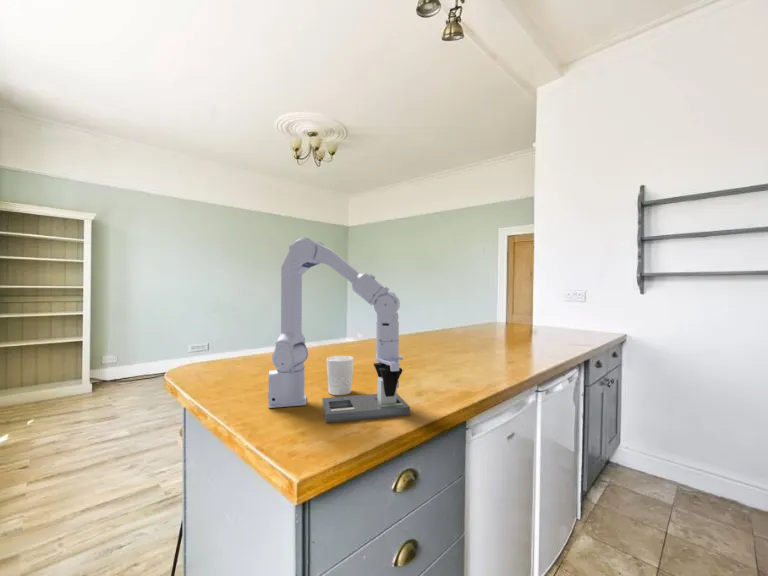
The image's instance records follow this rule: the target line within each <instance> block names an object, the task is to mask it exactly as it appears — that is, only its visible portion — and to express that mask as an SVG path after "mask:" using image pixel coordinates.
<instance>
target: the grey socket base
mask: <svg viewBox="0 0 768 576" xmlns="http://www.w3.org/2000/svg"><path fill="white" fill-rule="evenodd" d="M321 406H322V410H323V414H324V419H325V423H326V424H328V423H329V424H330V423H339V422H340V423H342V422H350V421H363V420H372V419H381V418H382V419H384V418H394V417H404V416H411V407H410V405H409V404H408V403H407V402H406V401H405V400H404V399H403V398H402V397H401V396H400V395H399V394H398V393H396V403H395V404H383V405H379V403H378V402H377V393H370V394H360V395H359V394H357V395H346V396H345V395H342V396H335V397H333V396H331V397H322V404H321Z"/></svg>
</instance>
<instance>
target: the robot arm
mask: <svg viewBox="0 0 768 576" xmlns="http://www.w3.org/2000/svg"><path fill="white" fill-rule="evenodd" d="M288 250H289V251H288V252H287V255H286V256H285V258H284V261H283V263H282V265H281V268H280V270H281V271H280V272H281V273H280V275H281V276H280V277H281V280H280V282H281V283H280V289H281V290H280V293H281V294H280V296H281V297H280V334H279V337H278V338H277V340H276V341H275V347H274V351H273V353H272V356H271V360H272V361H271V362H272V365H273V366H274V368H275V369H273V370H269V372H268V392H267V399H268V405H267V406H268V408H269V409H272V408H284V407H286V408H287V407H299V406H306V405H307V395H306V394H305V391H306V390H305V385H306V384H305V382H306V381H305V379H306V377H305V372H306V371H305V362H306V360H307V359H308V357H309V349H308V346H307V345H306V337H305V336H304V334H303V332H302V331H303V330H302V329H303V327H302V318H303V317H302V315H303V314H302V311H303V310H302V308H303V307H302V305H303V303H302V301H303V298H302V296H303V295H302V294H303V290H302V289H303V285H302V284H303V282H302V281H303V275H304V274H305V273H306V272H307V271H308V270H309V269H311V268H313V267H315V266H317V265H319V264H323V265H327V266H329V267H330V268H331V269H333V270H334V271H336V272H337V273H338V274H340V276H342V277H343V278H345V279H346V280H347V281H349V282H350V283H351V287H352V291H353V292H354V293H356V294H357V295H358V296H359V297H361V299H363V300H364V301H366V302H367V303H368V304H369V305H370V306H373V308H374V311H375V312H376V325H375V328H376V329H375V330H376V331H375V332H376V335H375V337H376V338H375V340H376V341H375V342H376V344H375V345H376V348H375V350H376V353H375V354H376V356H375V363H373V366H374V368H375V370H376V373H377V374H376V375H377V377H382V379H383V383H384V391H385V395H386V397H390V396H394V395H395V391H396V386H397V382H398V381H399V379H400V377H401V375H402V373H403V369H402V367H400V361H403V360H404V356H402V355H399V353H400V352H399V351H400V349H399V348H400V347H399V346H400V343H399V339H400V335H399V334H400V333H399V332H400V329H399V327H400V326H399V325H400V322H399V312H398V311H399V309H400V306H401V301H400V299H399V297H398V296H397V295H396V293H394V292H390V288H389V287H387V286H383V285H382V284H381V283H379V282H378V281H377V280H376V276H375V275H373V274H369V273H366V272H365V273H360V272H358V271H357V270H356V269H355V268H354V267H353V266H352V265H351V264H350V263H349V262H347V261H346V260H345V259H344V258H342V257H341V256H340V255H339V254H338V253H337V252H336V251H335V250H333V249H331V248H329V246H325V244H323V243H322V242H320V241H316V240H313V239H311V238H309V237H306V236H302V237H299V238H297V239H296V240H295V241H293V242H292V243H291V244H289V247H288Z"/></svg>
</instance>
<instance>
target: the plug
mask: <svg viewBox="0 0 768 576" xmlns="http://www.w3.org/2000/svg"><path fill="white" fill-rule="evenodd" d="M376 378H377V381H376V382H377V383H376V384H377V386H376V387H377V388H376V389H377V390H376V391H377V393H376V394H377V402H378V403H379V405H383V404H395V403H396V393H397V389H399V388H400V386H399V380H398V382H397V386H396V391H395V395H394V396H390V397H386V395H385V391H384V383H383V379H382V377H378V376H377V377H376ZM397 394H398V393H397Z"/></svg>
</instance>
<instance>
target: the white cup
mask: <svg viewBox="0 0 768 576" xmlns="http://www.w3.org/2000/svg"><path fill="white" fill-rule="evenodd" d="M326 373H327V374H326V375H327V385H328V393H329V394H330V395H333V396H345V395H346V396H347V395H349V394H350V393H352V390H353V388H352V385H353V376H354V374H353V373H354V357H353V356H349V355H334V356H333V355H332V356H329V357H327V358H326Z"/></svg>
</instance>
